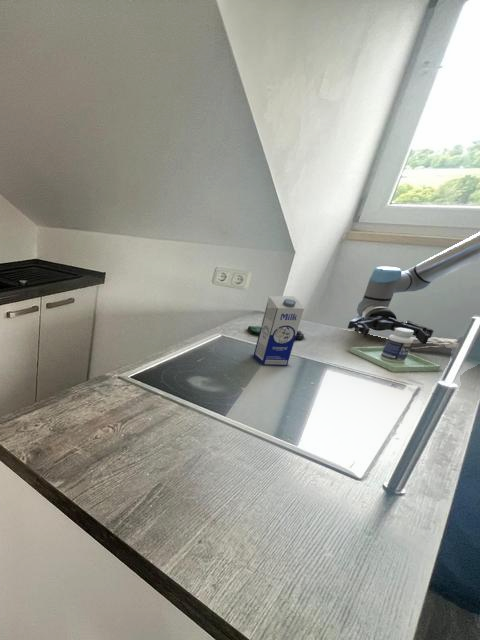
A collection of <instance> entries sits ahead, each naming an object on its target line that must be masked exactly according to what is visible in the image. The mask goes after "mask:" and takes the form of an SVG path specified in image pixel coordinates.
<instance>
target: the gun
mask: <svg viewBox="0 0 480 640" xmlns="http://www.w3.org/2000/svg"><path fill="white" fill-rule="evenodd" d="M260 329H261V326H255V325H249V326H247V330H248V332H249V333H250V334H251V335H253V336H259V333H260ZM304 335H305V334H304V333H303V332H302V331H301V330H298V331H297V334H296V337H295V341H301V340H303V339H304V338H305V336H304Z"/></svg>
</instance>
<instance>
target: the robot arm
mask: <svg viewBox="0 0 480 640" xmlns="http://www.w3.org/2000/svg"><path fill="white" fill-rule="evenodd" d="M478 261H480V232H478V233H476V234H474V235H471V236H470V237H468V238H466V239H464V240H462V241H460V242H458V243H457V244H454V245H453V246H451V247H449V248H447V249H445V250H442V251H441V252H439V253H437V254H435V255H433V256H431V257H430V258H428V259H425V260H424V261H422V262H420V263H418V264H417V265H414V266H412V267H410V268H408V269H406V270H402V269H401V268H399V267H394V266H377V267H375V268H374V269H373V271H372V273H371V275H370V276H369V280H368V283H367V286H366V289H365V292H364V295H363V297H362V300H360V301H359V302H358V304H356V312H357V317H355V318H353V319H351V320H349V322H348V325H347V329H349V330H352V329H354V330H353V332H354V333H360V334H361V335H362V337H363V338H367V337H368V335H369V333H370V330H373V331H376V332H381V331H392V332H394V331H395V328H407V329H411V330H413V331H414V333H413V335H412V336H414V337H415V338H416V339H417V340H418V341H419V343H421V345H427V343H428V341H429V339H431V338H432V335H433V333H434V332H435V330H434V329H432V328H429V327H427V326H423V325H420V324H418V323H415V322H414V321H411V320H405V322H404V321H402V320H400V319H399V320H398V318H397V316H396V314H395V313H394V312H393V311H392V310H391V309H390V308H389V306H390V303H391V301H392V299H393V297H394V294H397V293H407V292H416V291H420V290H424V289H426V288H427V287H428V286H429V285H430V284H431V283H432V282H435V281H436V280H439V279H441V278H444V277H445V276H447V275H450V274H452V273H455V272H456V271H459V270H461V269H462V268H465V267H467V266H469V265H471V264H474V263H475V262H478Z"/></svg>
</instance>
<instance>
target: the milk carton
mask: <svg viewBox="0 0 480 640" xmlns="http://www.w3.org/2000/svg"><path fill="white" fill-rule="evenodd" d="M304 310H305V307H304V305H303V304H302V303H301V302H300V301H299V300H298V298H296V297H295V296H293V295H290V296H285V295H269V296H268V299H267V302H266V306H265V310H264V314H263V317H262V321H261V325H260V327H261V329H260V333H259V336H258V335H257V336H258V337H257V340H256V345H255V349H254V351H253V358H255V360H257V361H258V362H259V363H260V364H261V365H262V366H288V363H289V360H290V357H291V354H292V351H293V348H294V344H295V341H296V340H295V337H296V334H297V331H299V327H300V324H301V321H302V318H303V314H304Z"/></svg>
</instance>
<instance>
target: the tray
mask: <svg viewBox="0 0 480 640" xmlns="http://www.w3.org/2000/svg"><path fill="white" fill-rule="evenodd" d="M384 347H385V346H356V347H355V346H353V347H352V346H351V347H350V349H349V353H352V354H353V355H356V356H358V357H360V358H363V359H364V360H367V361H368V362H371V363H373V364H375V365H377V366H379V367H381V368H384V369H386V370H387V371H390V372H392V373H399V372H401V373H402V372H435V371H436V372H439V371H440V370H441V367H442V366H441V365H440V364H437V363H435V362H433V361H430V360H427V359H425V358H422V357H420V356H418V355H415V354H412V353H410V352H408V354H407V357H406V359H405V361H404V362H402V363H395V362H390V361H386V360H384V359H382V358H381V354H382V352H383V349H384Z"/></svg>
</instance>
